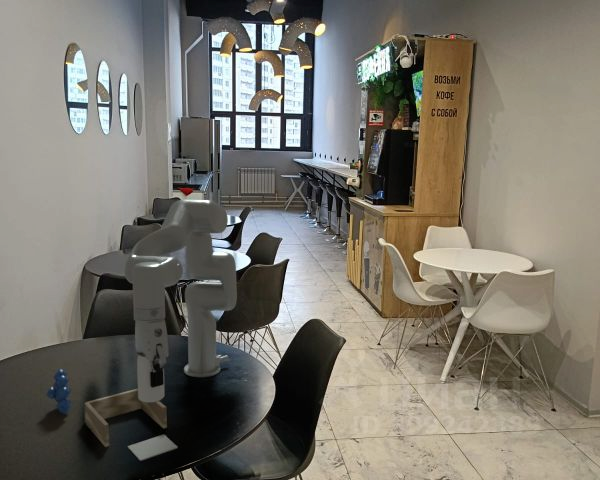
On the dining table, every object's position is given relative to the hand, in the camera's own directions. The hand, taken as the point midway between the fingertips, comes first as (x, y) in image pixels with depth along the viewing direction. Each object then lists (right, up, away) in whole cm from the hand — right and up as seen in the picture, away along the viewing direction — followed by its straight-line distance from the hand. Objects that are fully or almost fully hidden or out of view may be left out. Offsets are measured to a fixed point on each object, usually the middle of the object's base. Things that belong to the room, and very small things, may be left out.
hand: (151, 380), depth 138 cm
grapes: (-32, -15, +21) cm, 42 cm away
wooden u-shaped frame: (-11, -16, +14) cm, 24 cm away
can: (0, -5, +1) cm, 5 cm away
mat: (0, -18, +3) cm, 18 cm away
